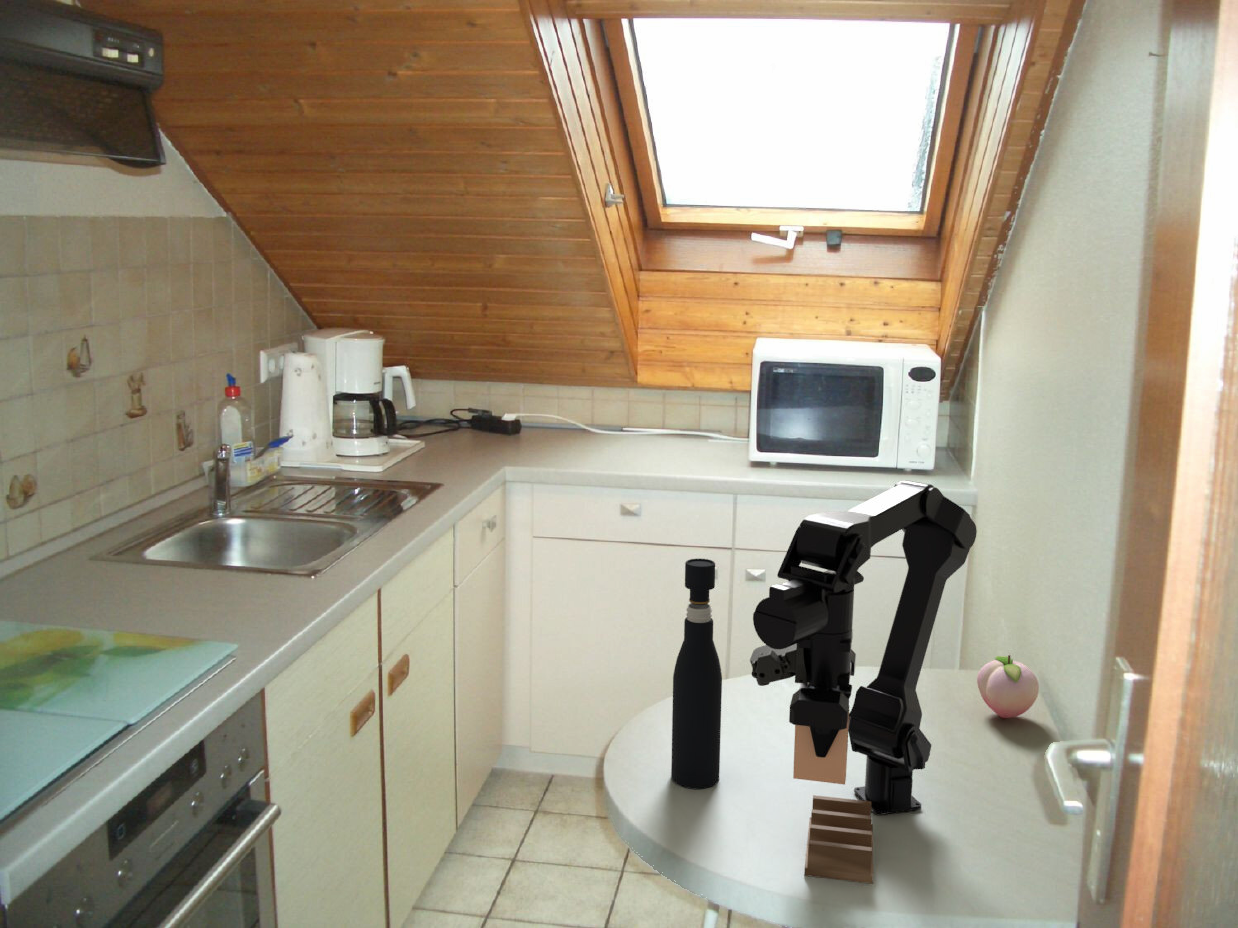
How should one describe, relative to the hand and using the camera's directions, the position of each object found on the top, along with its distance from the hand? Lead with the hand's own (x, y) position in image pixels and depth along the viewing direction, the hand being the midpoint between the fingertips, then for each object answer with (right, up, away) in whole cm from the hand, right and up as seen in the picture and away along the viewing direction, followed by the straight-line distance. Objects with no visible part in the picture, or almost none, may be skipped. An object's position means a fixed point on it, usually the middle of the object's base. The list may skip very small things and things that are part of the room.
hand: (821, 752), depth 133 cm
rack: (+2, -12, +1) cm, 12 cm away
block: (0, -3, +1) cm, 3 cm away
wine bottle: (-13, -8, +19) cm, 25 cm away
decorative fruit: (+35, -5, +39) cm, 53 cm away
